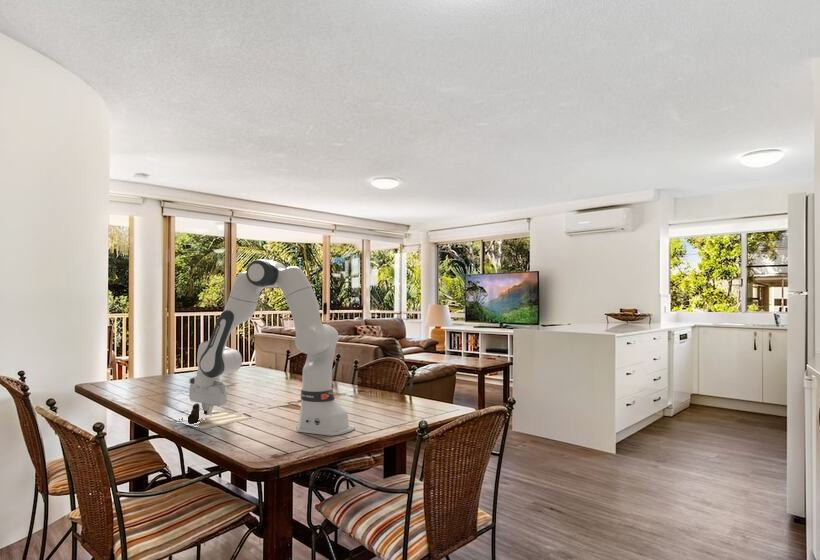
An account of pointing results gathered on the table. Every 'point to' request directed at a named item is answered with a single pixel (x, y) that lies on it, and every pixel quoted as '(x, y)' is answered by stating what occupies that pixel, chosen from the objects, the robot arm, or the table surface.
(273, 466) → the table surface
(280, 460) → the table surface
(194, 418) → the hand tool
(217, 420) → the sheet
